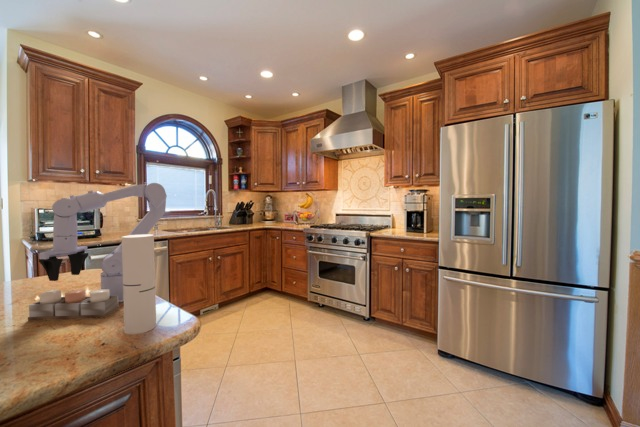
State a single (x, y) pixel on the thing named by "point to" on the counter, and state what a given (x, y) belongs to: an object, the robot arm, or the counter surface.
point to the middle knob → (75, 296)
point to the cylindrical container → (138, 283)
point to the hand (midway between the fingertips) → (65, 277)
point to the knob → (99, 295)
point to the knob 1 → (50, 297)
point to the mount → (73, 310)
